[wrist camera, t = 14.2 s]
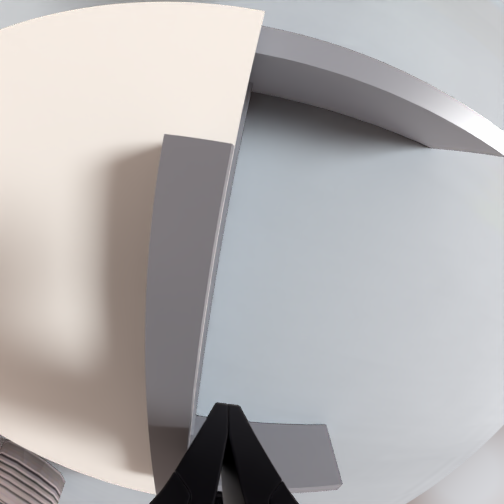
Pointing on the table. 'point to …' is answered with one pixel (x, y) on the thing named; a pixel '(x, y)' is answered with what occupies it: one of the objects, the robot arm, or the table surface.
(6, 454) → the can
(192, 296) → the lid
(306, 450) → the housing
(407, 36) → the table surface
